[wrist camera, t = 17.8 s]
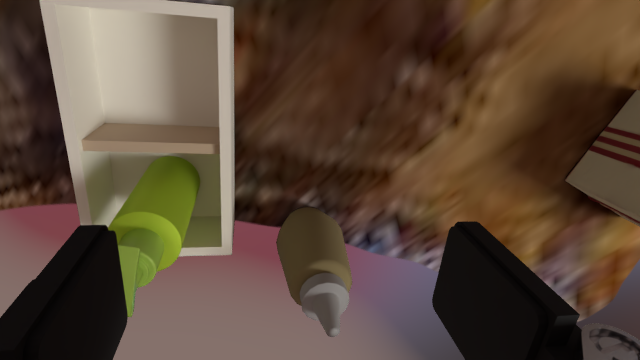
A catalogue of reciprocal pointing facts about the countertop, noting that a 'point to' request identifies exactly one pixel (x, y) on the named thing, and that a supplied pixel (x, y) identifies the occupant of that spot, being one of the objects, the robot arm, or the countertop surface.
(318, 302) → the squeeze bottle
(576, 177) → the gift box
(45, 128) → the countertop surface
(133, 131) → the caddy
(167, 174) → the soap dispenser
